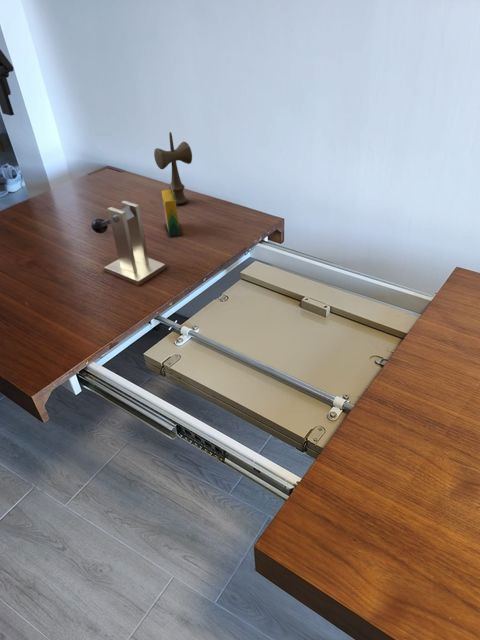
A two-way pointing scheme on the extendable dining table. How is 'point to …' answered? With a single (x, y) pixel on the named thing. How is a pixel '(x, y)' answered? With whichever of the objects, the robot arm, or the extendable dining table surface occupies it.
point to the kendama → (174, 165)
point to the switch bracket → (131, 247)
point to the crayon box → (170, 212)
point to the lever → (108, 221)
